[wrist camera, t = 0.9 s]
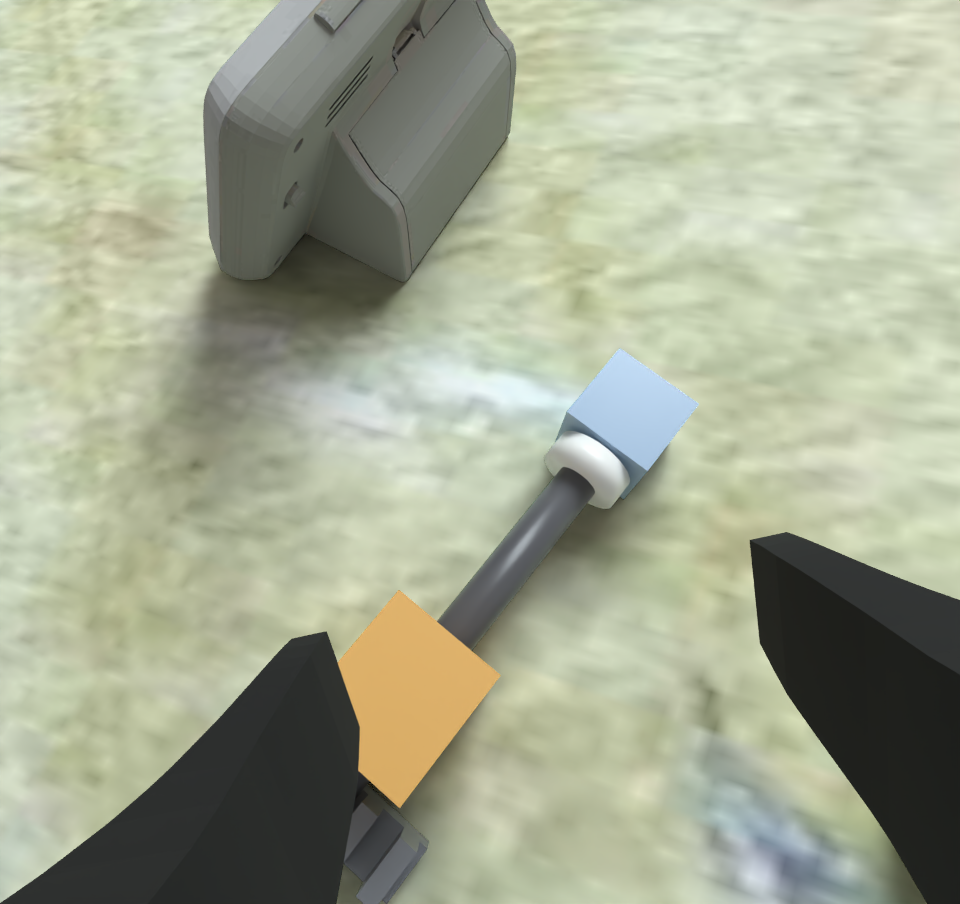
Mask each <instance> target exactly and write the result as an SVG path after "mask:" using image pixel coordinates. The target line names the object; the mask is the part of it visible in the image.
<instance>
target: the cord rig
mask: <svg viewBox="0 0 960 904" xmlns="http://www.w3.org/2000/svg"><path fill="white" fill-rule="evenodd" d="M698 405H699V404H698V403H697V402H696V401H694V400H693V399H691V398H690V397H689V396H687V395H686V394H684V393H683V392H681V391H680V390H679V389H677V388H676V387H674V386H673V385H672V384H670V383H669V382H667V381H666V380H664V379H663V378H662V377H660V376H659V375H657V374H656V373H655V372H653V371H652V370H650V369H649V368H647V367H646V366H645V365H643V364H642V363H640V362H639V361H638V360H636V359H635V358H633V357H632V356H630V355H629V354H628V353H626V352H625V351H623V350H622V349H621V348H619V349H618V351H617V352H616V353H615V354H614V355H613V357H612V358H611V359H610V360H609V362H608V363H607V364H606V365H605V366H604V368H603V369H602V370H601V371H600V372H599V374H598V375H597V376H596V377H595V378H594V380H593V381H592V382H591V383H590V384H589V386H588V387H587V388H586V389H585V390H584V392H583V393H582V394H581V395H580V396H579V398H578V399H577V400H576V401H575V402H574V404H573V405H572V406H571V407H570V408H569V410H568V411H567V412H566V415H565V418H564V420H563V423H562V425H561V428H560V431H559V433H558V436H557V438H556V441H555V443H554V445H553V446H552V447H551V448H550V449H549V451H548V452H547V453H546V454H545V456H544V461H545V464H546V466H547V468H548V469H549V471H550V472H551V474H552V475H553V476H554V478H553V479H552V480H551V481H550V483H549V484H548V485H547V486H546V488H545V489H544V490H543V491H542V492H541V494H540V495H539V496H538V497H537V499H536V500H535V501H534V502H533V504H532V505H531V506H530V507H529V508H528V510H527V511H526V512H525V513H524V515H523V516H522V517H521V518H520V520H519V521H518V522H517V523H516V525H515V526H514V527H513V528H512V529H511V531H510V532H509V533H508V534H507V536H506V537H505V538H504V539H503V541H502V542H501V543H500V544H499V545H498V547H497V548H496V549H495V550H494V552H493V553H492V554H491V555H490V557H489V558H488V559H487V560H486V562H485V563H484V564H483V565H482V566H481V568H480V569H479V570H478V571H477V573H476V574H475V575H474V576H473V578H472V579H471V580H470V581H469V582H468V584H467V585H466V586H465V587H464V589H463V590H462V591H461V592H460V594H459V595H458V596H457V597H456V599H455V600H454V601H453V602H452V603H451V605H450V606H449V607H448V608H447V610H446V611H445V612H444V613H443V615H442V616H441V617H440V618H439V619H438V621H437V622H438V623H439V624H440V625H441V626H443V627H444V628H445V629H446V630H447V631H449V632H450V633H451V634H452V635H453V636H455V637H456V638H457V639H458V640H459V641H461V642H462V643H463V644H464V645H465V646H466V647H468V648H469V649H470V650H471V651H472V650H473V649H474V647H475V646H476V645H477V643H478V642H479V641H480V640H481V638H482V637H483V636H484V635H485V633H486V632H487V631H488V629H489V628H490V627H491V626H492V624H493V623H494V622H495V620H496V619H497V618H498V617H499V615H500V614H501V613H502V612H503V610H504V609H505V608H506V606H507V605H508V604H509V603H510V601H511V600H512V599H513V597H514V596H515V595H516V594H517V592H518V591H519V590H520V589H521V587H522V586H523V585H524V583H525V582H526V581H527V580H528V578H529V577H530V576H531V574H532V573H533V572H534V571H535V569H536V568H537V567H538V566H539V564H540V563H541V562H542V560H543V559H544V558H545V557H546V555H547V554H548V553H549V551H550V550H551V549H552V548H553V546H554V545H555V544H556V543H557V541H558V540H559V539H560V537H561V536H562V535H563V534H564V532H565V531H566V530H567V528H568V527H569V526H570V525H571V523H572V522H573V521H574V520H575V518H576V517H577V516H578V514H579V513H580V512H581V511H582V509H583V508H584V507H585V505H586V504H587V503H588V504H590V505H593V506H595V507H598V508H602V509H609V508H611V507H612V506H613V504H614V503H615V502H616V500H617V499H618V498H619V497H621V498H622V499H625V497H626V496H627V495H628V494H629V493H630V491H631V490H632V489H633V488H634V487H635V486H636V484H637V483H638V482H639V481H640V480H641V478H642V477H643V476H644V475H645V474H646V472H647V471H648V470H649V469H650V467H651V466H652V465H653V463H654V462H655V461H656V460H657V458H658V457H659V456H660V454H661V453H662V452H663V450H664V449H665V448H666V446H667V445H668V444H669V443H670V441H671V440H672V439H673V437H674V436H675V435H676V433H677V432H678V431H679V429H680V428H681V427H682V426H683V424H684V423H685V422H686V420H687V419H688V418H689V416H690V415H691V414H692V412H693V411H694V410H695V409H696V407H697V406H698ZM368 783H369V780H368V779H367V778H366V777H365V776H364V775H363V774H362V773H360V772H359V771H358V782H357V789H356V796H355V802H354V807H353V813H352V819H351V825H350V830H349V836H348V841H347V847H346V852H345V858H344V864H345V865H346V866H347V867H348V868H349V869H350V870H351V871H352V872H353V873H354V874H355V875H356V876H357V877H358V878H359V879H361V880H362V881H363V883H362V885H361V887H360V889H359V891H358V893H357V895H356V897H357V898H358V899H359V900H360V901H361V902H362V903H363V904H379V903H380V902H381V900H383V901H384V902H385V903H386V904H387V903H388V902H389V900H390V899H391V898H392V896H393V895H394V894H395V892H396V891H397V889H398V888H399V887H400V885H401V884H402V883H403V881H404V880H405V879H406V877H407V876H408V874H409V873H410V872H411V870H412V869H413V868H414V866H415V865H416V864H417V862H418V861H419V859H420V858H421V857H422V855H423V854H424V853H425V851H426V850H427V848H428V843H429V841H428V840H427V839H426V838H425V837H424V836H423V835H422V834H421V833H419V832H418V831H417V830H416V829H415V828H414V827H413V826H412V825H411V824H410V823H409V822H407V821H406V820H405V819H404V818H403V817H402V816H401V815H400V814H399V813H398V812H397V811H395V810H394V809H393V808H392V807H391V806H390V805H389V804H388V803H387V802H386V801H385V800H383V799H382V798H381V797H380V796H379V795H378V794H377V793H376V792H375V791H374V790H373V789H371V788H370V787H369V786H368V785H367V784H368Z"/></svg>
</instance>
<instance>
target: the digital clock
mask: <svg viewBox="0 0 960 904" xmlns="http://www.w3.org/2000/svg"><path fill="white" fill-rule="evenodd" d="M515 75H516V53H515V49H514V46H513V43H512V42H511V41H510V39H509V38H508V37H507V36H506V35H505V33H504V32H503V31H502V30H501V29H500V28H499V27H498V26H497V24H496V23H495V21H494V19H493V17H492V16H491V13H490V11H489V9H488V7H487V4H486V2H485V0H281V1H280V2H279V3H278V5H277V6H276V7H275V8H274V9H273V10H272V11H271V12H270V13H269V14H268V15H267V17H266V18H265V19H264V20H263V21H262V22H261V23H260V24H259V25H258V26H257V27H256V29H255V30H254V31H253V32H252V33H251V34H250V35H249V36H248V38H247V39H246V40H245V41H244V42H243V43H242V44H241V46H240V47H239V48H238V49H237V50H236V51H235V52H234V54H233V55H232V56H231V57H230V58H229V59H228V60H227V62H226V63H225V64H224V65H223V66H222V67H221V68H220V70H219V71H218V72H217V74H216V75H215V76H214V78H213V79H212V81H211V83H210V85H209V86H208V89H207V92H206V95H205V100H204V112H203V119H204V146H205V165H206V184H207V203H208V222H209V236H210V240H211V243H212V247H213V250H214V253H215V255H216V258H217V261H218V263H219V266H220V269H221V270H222V271H224V272H225V273H227V274H228V275H230V276H232V277H235V278H238V279H241V280H257V279H264V278H267V277H269V276H270V275H272V274H273V272H274V271H275V270H276V269H277V268H278V266H279V265H280V264H281V263H282V261H283V260H284V259H285V258H286V256H287V255H288V254H289V252H290V251H291V250H292V249H293V247H294V246H295V245H296V244H297V242H298V241H299V240H300V238H301V237H302V236H303V235H304V233H306V234H308V235H310V236H312V237H314V238H316V239H318V240H320V241H322V242H324V243H326V244H327V245H329V246H331V247H333V248H335V249H337V250H339V251H341V252H343V253H345V254H347V255H349V256H351V257H353V258H355V259H357V260H359V261H360V262H362V263H364V264H366V265H368V266H370V267H372V268H374V269H376V270H378V271H380V272H382V273H384V274H386V275H388V276H390V277H392V278H394V279H396V280H398V281H401V282H405V281H407V279H408V278H409V276H410V275H411V274H412V272H413V271H414V269H415V268H416V266H417V265H418V264H419V262H420V261H421V259H422V258H423V256H424V255H425V254H426V252H427V251H428V249H429V248H430V246H431V245H432V244H433V242H434V241H435V239H436V238H437V236H438V235H439V234H440V232H441V231H442V229H443V228H444V226H445V225H446V223H447V222H448V221H449V219H450V218H451V216H452V215H453V213H454V212H455V211H456V209H457V208H458V206H459V205H460V203H461V202H462V201H463V199H464V198H465V196H466V195H467V193H468V192H469V191H470V189H471V188H472V186H473V185H474V183H475V182H476V181H477V179H478V178H479V176H480V175H481V173H482V172H483V171H484V169H485V168H486V166H487V165H488V163H489V162H490V161H491V159H492V158H493V156H494V155H495V153H496V152H497V151H498V149H499V148H500V146H501V145H502V143H503V142H504V141H505V139H506V138H507V136H508V135H509V133H510V126H511V116H512V106H513V96H514V85H515Z"/></svg>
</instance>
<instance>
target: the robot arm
mask: <svg viewBox="0 0 960 904" xmlns="http://www.w3.org/2000/svg"><path fill="white" fill-rule="evenodd" d="M750 548H751V558H752V568H753V578H754V588H755V598H756V608H757V618H758V628H759V639H760V644H761V646H762V648H763V650H764V652H765V654H766V656H767V658H768V660H769V661H770V663H771V665H772V667H773V669H774V671H775V673H776V675H777V677H778V678H779V680H780V682H781V684H782V686H783V687H784V689H785V691H786V693H787V695H788V696H789V698H790V699H791V700H792V702H793V703H794V705H795V706H796V708H797V709H798V711H799V712H800V713H801V715H802V716H803V718H804V719H805V720H806V722H807V723H808V725H809V726H810V727H811V729H812V730H813V732H814V733H815V734H816V736H817V737H818V739H819V740H820V741H821V743H822V744H823V746H824V747H825V748H826V750H827V751H828V753H829V754H830V755H831V757H832V758H833V759H834V761H835V762H836V764H837V765H838V766H839V768H840V769H841V771H842V772H843V773H844V775H845V776H846V777H847V779H848V780H849V782H850V783H851V784H852V786H853V787H854V789H855V790H856V791H857V793H858V794H859V795H860V797H861V798H862V800H863V801H864V802H865V804H866V805H867V807H868V808H869V809H870V811H871V812H872V814H873V815H874V817H875V818H876V820H877V821H878V823H879V824H880V826H881V827H882V829H883V830H884V832H885V833H886V835H887V836H888V838H889V839H890V841H891V843H892V844H893V846H894V848H895V849H896V851H897V853H898V855H899V856H900V858H901V860H902V861H903V863H904V865H905V867H906V868H907V870H908V872H909V873H910V875H911V877H912V879H913V880H914V882H915V884H916V885H917V887H918V889H919V891H920V892H921V894H922V896H923V897H924V899H925V901H926V903H927V904H960V600H958V599H955V598H952V597H949V596H946V595H944V594H941V593H938V592H935V591H932V590H929V589H927V588H924V587H921V586H919V585H916V584H913V583H911V582H908V581H905V580H903V579H900V578H898V577H895V576H893V575H890V574H888V573H885V572H883V571H880V570H878V569H876V568H873V567H871V566H868V565H866V564H864V563H861V562H859V561H856V560H854V559H852V558H849V557H847V556H845V555H842V554H840V553H838V552H835V551H833V550H831V549H828V548H826V547H824V546H821V545H819V544H816V543H814V542H812V541H809V540H807V539H804V538H802V537H799V536H796V535H793V534H790V533H787V532H785V533H781V534H776V535H771V536H767V537H762V538H757V539H753V540H750ZM359 741H360V726H359V723H358V720H357V717H356V714H355V711H354V709H353V706H352V703H351V700H350V697H349V694H348V691H347V689H346V686H345V683H344V680H343V677H342V674H341V671H340V668H339V666H338V663H337V660H336V657H335V654H334V651H333V648H332V646H331V643H330V640H329V637H328V634H327V631H326V632H321V633H317V634H312V635H307V636H303V637H298V638H293V639H291V640H290V641H289V642H288V643H287V644H286V645H285V646H284V647H283V648H282V649H281V650H280V651H279V652H278V653H277V654H276V655H275V657H274V658H273V659H272V660H271V661H270V662H269V663H268V664H267V665H266V667H265V668H264V669H263V670H262V671H261V672H260V673H259V674H258V676H257V677H256V678H255V679H254V680H253V681H252V682H251V684H250V685H249V686H248V687H247V688H246V689H245V690H244V691H243V692H242V694H241V695H240V696H239V697H238V698H237V699H236V700H235V701H234V702H233V704H232V705H231V706H230V707H229V708H228V709H227V710H226V711H225V712H224V714H223V715H222V716H221V717H220V718H219V719H218V720H217V721H216V722H215V723H214V724H213V725H212V726H211V727H210V728H209V729H208V730H207V731H206V732H205V733H204V734H203V735H202V737H201V738H200V739H199V740H198V741H197V742H196V743H195V744H194V745H193V746H192V747H191V748H190V749H189V750H188V751H187V752H186V753H185V754H184V755H183V756H182V757H181V758H180V759H179V760H178V761H177V762H176V763H175V764H174V765H173V766H172V767H171V768H170V769H169V770H168V771H167V772H166V773H165V774H164V775H163V776H162V777H160V778H159V779H158V780H157V781H156V782H155V783H154V784H153V785H152V786H151V787H150V788H148V789H147V790H146V791H145V792H144V793H143V794H142V795H141V796H139V797H138V798H137V799H136V800H135V801H134V802H132V803H131V804H130V805H129V806H128V807H127V808H126V809H124V810H123V811H122V812H121V813H120V814H119V815H117V816H116V817H115V818H114V819H113V820H111V821H110V822H109V823H108V824H107V825H105V826H104V827H103V828H102V829H100V830H99V831H98V832H96V833H95V834H94V835H92V836H91V837H90V838H89V839H87V840H86V841H85V842H83V843H82V844H81V845H79V846H78V847H77V848H76V849H74V850H73V851H72V852H70V853H69V854H68V855H66V856H65V857H64V858H63V859H61V860H60V861H59V862H57V863H56V864H55V865H53V866H52V867H51V868H50V869H48V870H47V871H46V872H44V873H43V874H41V875H40V876H39V877H37V878H36V879H34V880H33V881H32V882H30V883H29V884H27V885H26V886H24V887H23V888H21V889H20V890H19V891H17V892H16V893H14V894H13V895H11V896H10V897H9V898H7V899H6V900H4V901H3V902H1V903H0V904H336V901H337V896H338V890H339V885H340V880H341V874H342V869H343V863H344V858H345V852H346V847H347V841H348V836H349V830H350V825H351V819H352V813H353V807H354V802H355V796H356V789H357V782H358V765H359Z"/></svg>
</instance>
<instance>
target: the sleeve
mask: <svg viewBox="0 0 960 904" xmlns="http://www.w3.org/2000/svg"><path fill="white" fill-rule="evenodd" d="M338 666H339V668H340V671H341V674H342V677H343V680H344V683H345V686H346V689H347V691H348V694H349V697H350V700H351V703H352V706H353V709H354V711H355V714H356V717H357V720H358V723H359V726H360V741H359V765H358V771H359V772H360V773H362V774H363V775H364V776H365V777H366V778H367V779H368V780H369V781H370V782H371V783H372V784H374V785H375V786H376V787H377V788H378V789H379V790H380V791H381V792H382V793H383V794H385V795H386V796H387V797H388V798H389V799H390V800H391V801H392V802H393V803H394V804H395V805H397V806H398V807H399V808H400V807H401V806H402V805H403V803H404V802H405V801H406V799H407V798H408V797H409V795H410V794H411V793H412V791H413V790H414V789H415V787H416V786H417V785H418V783H419V782H420V781H421V780H422V778H423V777H424V776H425V774H426V773H427V772H428V770H429V769H430V768H431V766H432V765H433V764H434V762H435V761H436V760H437V758H438V757H439V756H440V755H441V753H442V752H443V751H444V749H445V748H446V747H447V745H448V744H449V743H450V741H451V740H452V739H453V737H454V736H455V735H456V733H457V732H458V731H459V730H460V728H461V727H462V726H463V724H464V723H465V722H466V720H467V719H468V718H469V716H470V715H471V714H472V712H473V711H474V710H475V708H476V707H477V706H478V705H479V703H480V702H481V701H482V699H483V698H484V697H485V695H486V694H487V693H488V691H489V690H490V689H491V687H492V686H493V685H494V683H495V682H496V681H497V680H498V678H499V677H500V676H501V675H500V674H499V673H497V672H496V671H495V670H494V669H493V668H491V667H490V666H489V665H488V664H487V663H486V662H484V661H483V660H482V659H481V658H480V657H478V656H477V655H476V654H475V653H474V652H472V651H471V650H470V649H469V648H468V647H466V646H465V645H464V644H463V643H462V642H461V641H459V640H458V639H457V638H456V637H455V636H453V635H452V634H451V633H450V632H449V631H447V630H446V629H445V628H444V627H443V626H441V625H440V624H439V623H438V622H437V621H436V620H434V619H433V618H432V617H431V616H430V615H428V614H427V613H426V612H425V611H424V610H422V609H421V608H420V607H419V606H418V605H416V604H415V603H414V602H413V601H412V600H411V599H409V598H408V597H407V596H406V595H405V594H403V593H402V592H401V591H400V590H398V591H397V593H396V594H395V595H394V596H393V597H392V599H391V600H390V601H389V602H388V603H387V605H386V606H385V607H384V608H383V609H382V610H381V612H380V613H379V614H378V615H377V616H376V618H375V619H374V620H373V621H372V622H371V624H370V625H369V626H368V627H367V628H366V629H365V631H364V632H363V633H362V634H361V635H360V637H359V638H358V639H357V640H356V641H355V643H354V644H353V645H352V646H351V647H350V648H349V650H348V651H347V652H346V653H345V654H344V656H343V657H342V658H341V659H340V660H339V662H338Z"/></svg>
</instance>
